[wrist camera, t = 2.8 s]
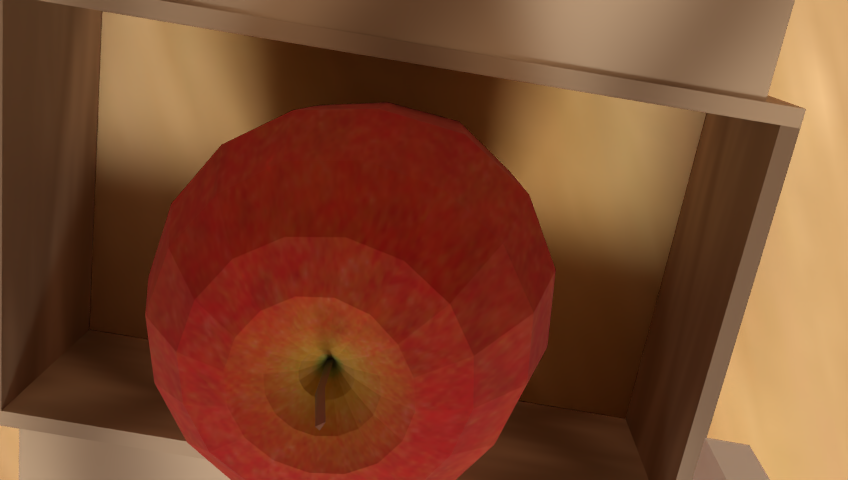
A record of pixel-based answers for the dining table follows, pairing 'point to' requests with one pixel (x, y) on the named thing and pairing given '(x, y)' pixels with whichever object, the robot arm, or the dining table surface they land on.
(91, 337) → the brown shallow open box
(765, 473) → the robot arm
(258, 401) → the apple
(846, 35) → the dining table surface
